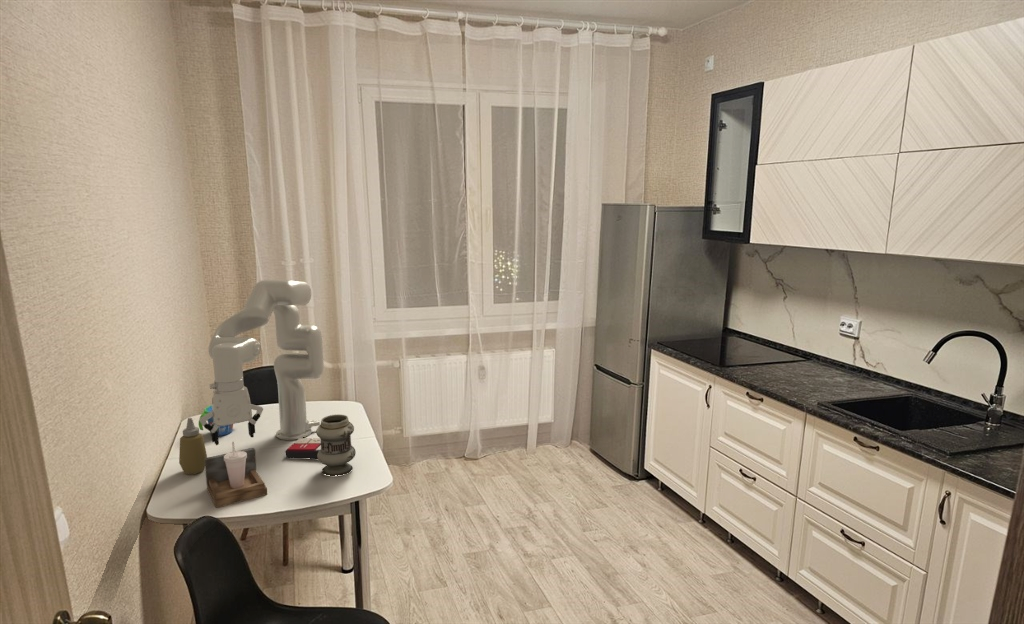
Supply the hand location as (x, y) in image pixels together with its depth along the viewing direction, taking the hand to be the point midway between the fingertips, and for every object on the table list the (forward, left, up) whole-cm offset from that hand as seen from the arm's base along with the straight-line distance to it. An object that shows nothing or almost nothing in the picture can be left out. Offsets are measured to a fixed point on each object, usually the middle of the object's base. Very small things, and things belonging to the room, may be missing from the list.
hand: (234, 439), depth 174 cm
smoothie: (0, 0, -15) cm, 15 cm away
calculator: (-28, -15, -17) cm, 36 cm away
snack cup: (-6, -54, -17) cm, 56 cm away
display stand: (0, 0, -16) cm, 16 cm away
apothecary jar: (-30, +3, -17) cm, 34 cm away
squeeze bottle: (+8, -23, -17) cm, 29 cm away
